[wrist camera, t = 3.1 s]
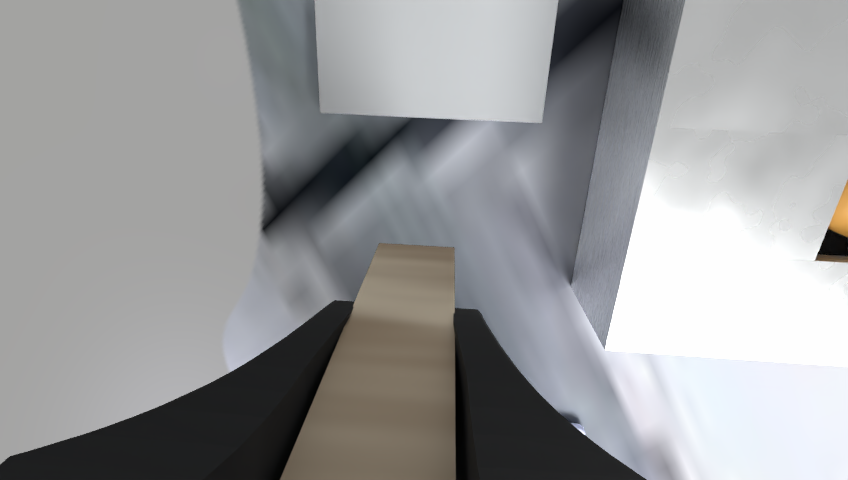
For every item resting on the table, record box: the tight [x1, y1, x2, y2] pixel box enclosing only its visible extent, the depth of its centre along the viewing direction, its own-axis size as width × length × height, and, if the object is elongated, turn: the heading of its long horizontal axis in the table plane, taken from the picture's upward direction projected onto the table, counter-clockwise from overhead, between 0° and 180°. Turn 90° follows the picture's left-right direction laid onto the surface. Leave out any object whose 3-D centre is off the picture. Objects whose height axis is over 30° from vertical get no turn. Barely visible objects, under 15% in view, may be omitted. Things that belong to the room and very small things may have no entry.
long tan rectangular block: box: [280, 243, 456, 480], centre depth 10 cm, size 2×2×9 cm
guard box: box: [571, 0, 848, 367], centre depth 16 cm, size 12×16×5 cm
